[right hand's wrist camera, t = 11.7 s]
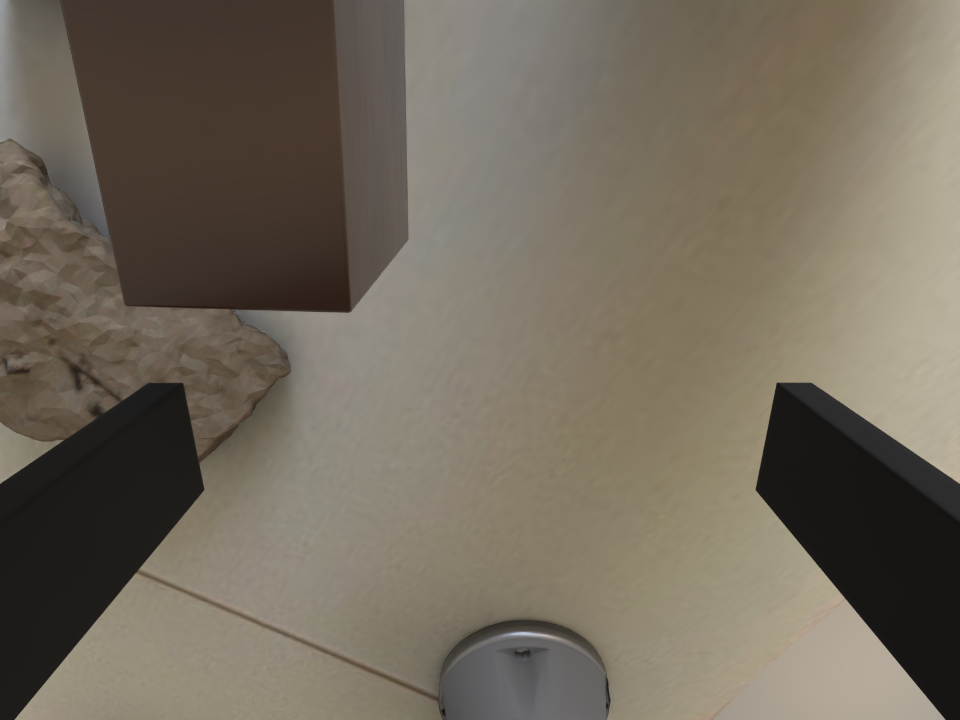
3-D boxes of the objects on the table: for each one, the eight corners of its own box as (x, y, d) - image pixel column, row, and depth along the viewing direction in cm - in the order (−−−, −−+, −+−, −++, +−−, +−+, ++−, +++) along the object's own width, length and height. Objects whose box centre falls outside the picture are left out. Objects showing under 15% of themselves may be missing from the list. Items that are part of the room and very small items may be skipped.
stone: (-122, 315, 35) (-203, 341, 30) (23, 134, 34) (-33, 126, 29) (183, 482, 44) (164, 526, 38) (305, 339, 43) (303, 364, 37)
